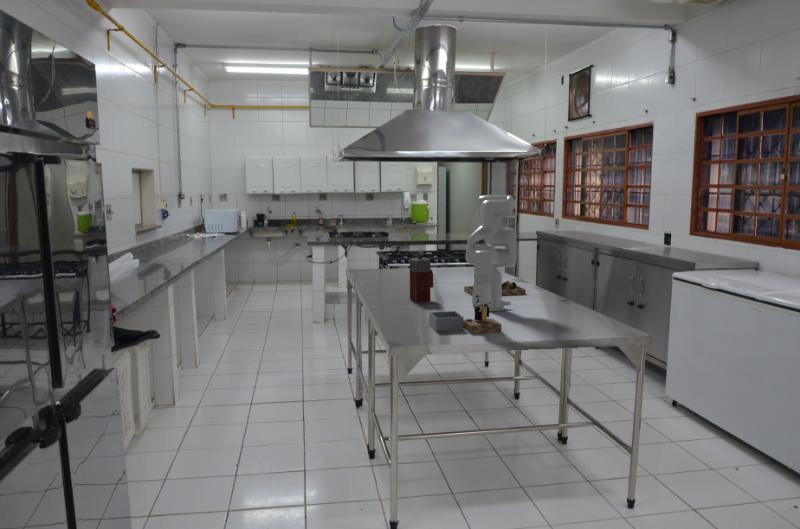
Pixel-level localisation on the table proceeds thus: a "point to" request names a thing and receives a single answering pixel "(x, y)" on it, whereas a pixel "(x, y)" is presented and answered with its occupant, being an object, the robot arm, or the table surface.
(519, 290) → the serving frame
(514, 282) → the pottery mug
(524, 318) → the table surface
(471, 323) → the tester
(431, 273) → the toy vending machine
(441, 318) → the bin
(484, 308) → the cylinder
